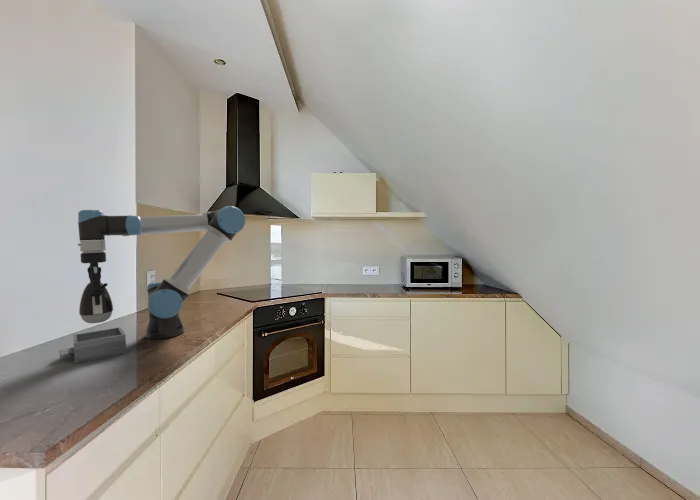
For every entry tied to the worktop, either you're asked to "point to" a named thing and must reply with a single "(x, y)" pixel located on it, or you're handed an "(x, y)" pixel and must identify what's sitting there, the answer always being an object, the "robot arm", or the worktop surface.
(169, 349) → the worktop surface
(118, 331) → the block
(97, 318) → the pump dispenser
